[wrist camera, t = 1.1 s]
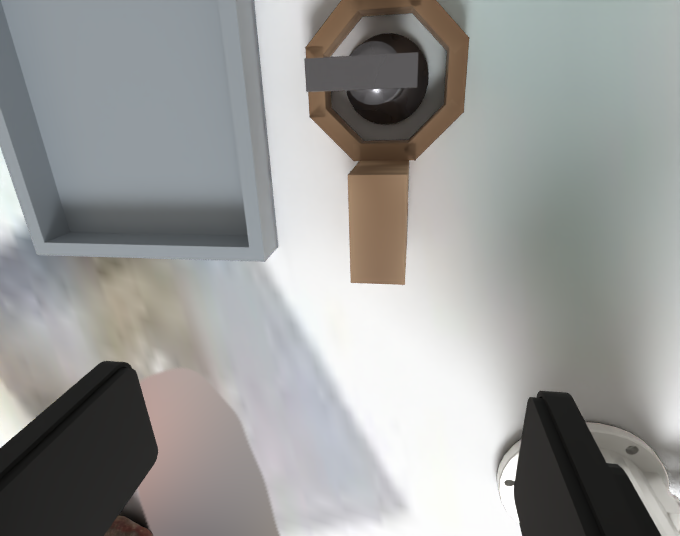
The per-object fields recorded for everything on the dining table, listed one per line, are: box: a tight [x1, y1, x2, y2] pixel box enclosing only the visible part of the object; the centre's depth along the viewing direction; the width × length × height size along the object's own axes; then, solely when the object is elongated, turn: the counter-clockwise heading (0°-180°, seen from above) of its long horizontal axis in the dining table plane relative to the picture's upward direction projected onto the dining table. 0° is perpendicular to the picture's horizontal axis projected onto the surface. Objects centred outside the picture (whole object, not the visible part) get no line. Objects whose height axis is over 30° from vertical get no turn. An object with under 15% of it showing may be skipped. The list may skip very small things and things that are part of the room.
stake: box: [305, 34, 428, 124], centre depth 21 cm, size 5×5×10 cm
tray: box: [0, 0, 278, 262], centre depth 27 cm, size 18×22×3 cm
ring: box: [306, 0, 469, 285], centre depth 23 cm, size 9×15×7 cm, turn 2°
